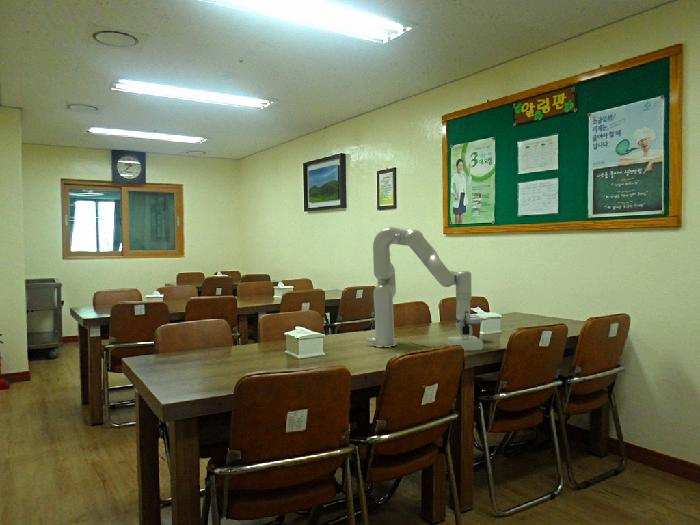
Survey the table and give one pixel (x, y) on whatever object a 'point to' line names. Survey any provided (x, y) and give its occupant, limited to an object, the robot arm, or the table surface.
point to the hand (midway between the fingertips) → (464, 332)
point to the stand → (466, 342)
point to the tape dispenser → (459, 328)
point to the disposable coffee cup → (475, 326)
